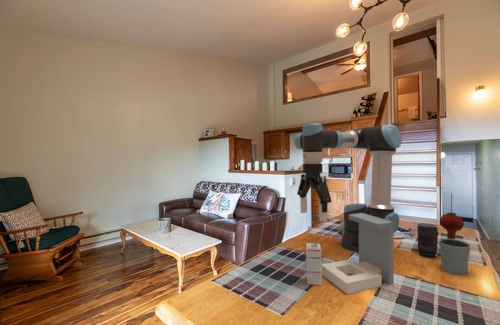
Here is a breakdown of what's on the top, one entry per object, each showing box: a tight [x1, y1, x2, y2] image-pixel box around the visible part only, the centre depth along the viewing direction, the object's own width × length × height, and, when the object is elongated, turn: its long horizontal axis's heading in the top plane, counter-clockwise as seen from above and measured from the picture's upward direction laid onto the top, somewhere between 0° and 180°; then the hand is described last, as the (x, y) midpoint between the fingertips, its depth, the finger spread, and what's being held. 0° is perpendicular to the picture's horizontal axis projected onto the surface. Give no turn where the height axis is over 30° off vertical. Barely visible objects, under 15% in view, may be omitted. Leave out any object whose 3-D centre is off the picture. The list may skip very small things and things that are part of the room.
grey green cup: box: [438, 238, 471, 276], centre depth 103 cm, size 10×10×12 cm
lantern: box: [439, 193, 464, 240], centre depth 121 cm, size 10×10×30 cm
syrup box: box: [305, 242, 323, 286], centre depth 97 cm, size 6×6×14 cm
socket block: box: [321, 213, 395, 295], centre depth 98 cm, size 16×22×24 cm
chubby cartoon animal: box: [337, 221, 344, 236], centre depth 153 cm, size 7×12×8 cm, turn 12°
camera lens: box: [416, 222, 439, 259], centre depth 119 cm, size 8×8×15 cm
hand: (312, 216), depth 96 cm, fingers open, 13 cm apart
